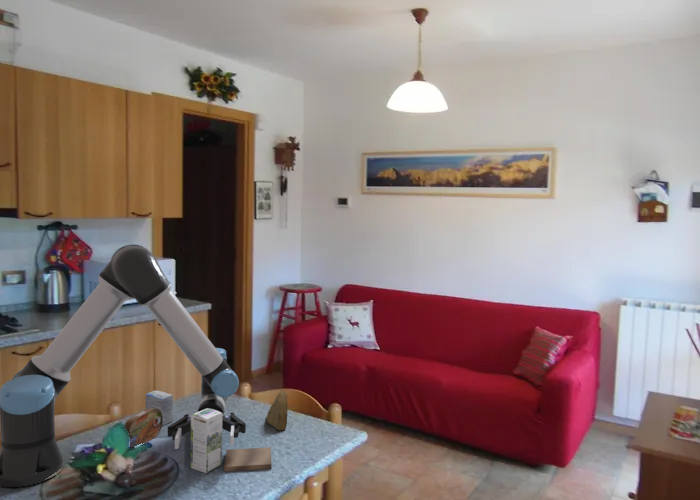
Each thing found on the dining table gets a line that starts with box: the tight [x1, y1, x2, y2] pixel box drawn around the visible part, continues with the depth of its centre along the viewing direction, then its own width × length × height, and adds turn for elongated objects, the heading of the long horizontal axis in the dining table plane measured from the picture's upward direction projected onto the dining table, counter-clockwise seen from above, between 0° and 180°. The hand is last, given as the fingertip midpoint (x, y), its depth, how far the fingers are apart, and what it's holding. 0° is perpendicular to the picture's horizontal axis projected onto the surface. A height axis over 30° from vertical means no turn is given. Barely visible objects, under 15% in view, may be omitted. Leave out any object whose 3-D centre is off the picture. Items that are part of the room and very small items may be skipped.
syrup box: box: [190, 408, 223, 474], centre depth 144 cm, size 6×6×14 cm
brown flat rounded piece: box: [123, 408, 163, 447], centre depth 158 cm, size 15×3×8 cm, turn 163°
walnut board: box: [223, 446, 272, 472], centre depth 148 cm, size 12×10×1 cm
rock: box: [265, 390, 289, 431], centre depth 172 cm, size 11×9×10 cm
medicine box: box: [145, 390, 174, 426], centre depth 173 cm, size 8×4×9 cm, turn 58°
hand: (204, 442), depth 141 cm, fingers open, 13 cm apart
